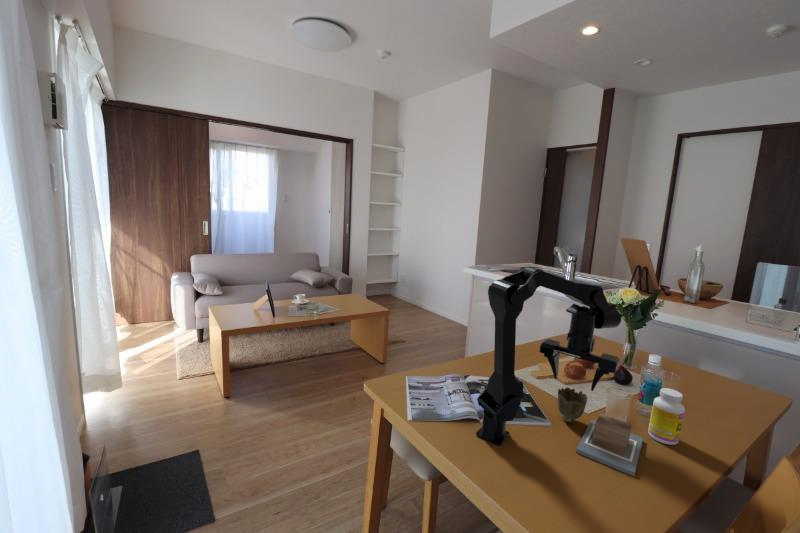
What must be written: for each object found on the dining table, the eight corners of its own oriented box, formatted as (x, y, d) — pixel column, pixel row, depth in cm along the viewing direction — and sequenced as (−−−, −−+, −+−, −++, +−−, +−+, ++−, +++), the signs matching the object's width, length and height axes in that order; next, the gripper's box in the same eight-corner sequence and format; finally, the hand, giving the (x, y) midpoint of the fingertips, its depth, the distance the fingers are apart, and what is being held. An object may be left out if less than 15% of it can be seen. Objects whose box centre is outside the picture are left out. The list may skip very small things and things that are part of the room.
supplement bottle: (677, 449, 93) (686, 402, 90) (645, 437, 97) (654, 392, 95) (679, 438, 98) (688, 392, 96) (649, 427, 102) (657, 383, 100)
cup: (549, 419, 103) (553, 392, 102) (560, 410, 108) (564, 384, 107) (577, 432, 98) (581, 403, 96) (587, 421, 103) (591, 394, 101)
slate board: (634, 476, 82) (635, 471, 82) (576, 452, 89) (576, 447, 89) (642, 441, 95) (643, 436, 95) (591, 422, 103) (591, 418, 102)
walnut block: (624, 456, 87) (628, 436, 87) (592, 443, 92) (594, 424, 91) (628, 442, 93) (631, 423, 92) (597, 430, 97) (600, 413, 96)
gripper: (626, 331, 99) (617, 386, 102) (554, 315, 110) (547, 365, 113) (620, 341, 90) (610, 401, 93) (542, 323, 102) (535, 376, 104)
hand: (573, 384), depth 101 cm, fingers open, 9 cm apart
